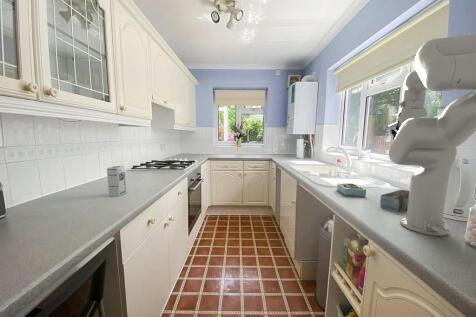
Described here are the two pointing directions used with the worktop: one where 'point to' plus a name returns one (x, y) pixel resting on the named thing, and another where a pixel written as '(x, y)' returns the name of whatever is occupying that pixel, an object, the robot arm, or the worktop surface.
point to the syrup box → (116, 181)
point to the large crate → (351, 191)
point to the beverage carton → (395, 200)
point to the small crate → (351, 186)
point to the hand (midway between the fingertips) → (407, 145)
